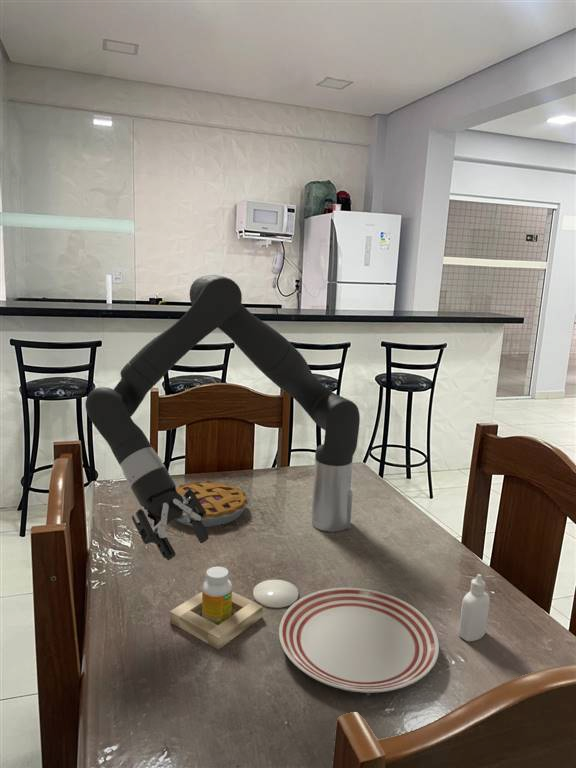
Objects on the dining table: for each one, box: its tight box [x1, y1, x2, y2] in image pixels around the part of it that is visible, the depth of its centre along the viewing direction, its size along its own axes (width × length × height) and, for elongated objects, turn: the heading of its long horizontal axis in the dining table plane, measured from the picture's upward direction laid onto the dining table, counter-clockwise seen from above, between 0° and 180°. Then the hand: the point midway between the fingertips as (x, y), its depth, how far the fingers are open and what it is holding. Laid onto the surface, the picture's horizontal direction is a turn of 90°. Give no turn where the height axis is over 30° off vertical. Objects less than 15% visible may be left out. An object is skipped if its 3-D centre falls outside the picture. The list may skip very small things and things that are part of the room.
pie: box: [176, 480, 249, 528], centre depth 153 cm, size 22×22×5 cm
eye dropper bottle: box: [458, 573, 491, 642], centre depth 106 cm, size 4×6×12 cm
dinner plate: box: [278, 587, 440, 694], centre depth 102 cm, size 27×27×3 cm
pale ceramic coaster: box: [252, 579, 299, 609], centre depth 117 cm, size 9×9×1 cm
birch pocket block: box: [169, 591, 264, 650], centre depth 108 cm, size 12×12×2 cm
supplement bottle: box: [201, 566, 233, 625], centre depth 107 cm, size 5×5×10 cm
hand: (189, 549), depth 110 cm, fingers open, 8 cm apart
